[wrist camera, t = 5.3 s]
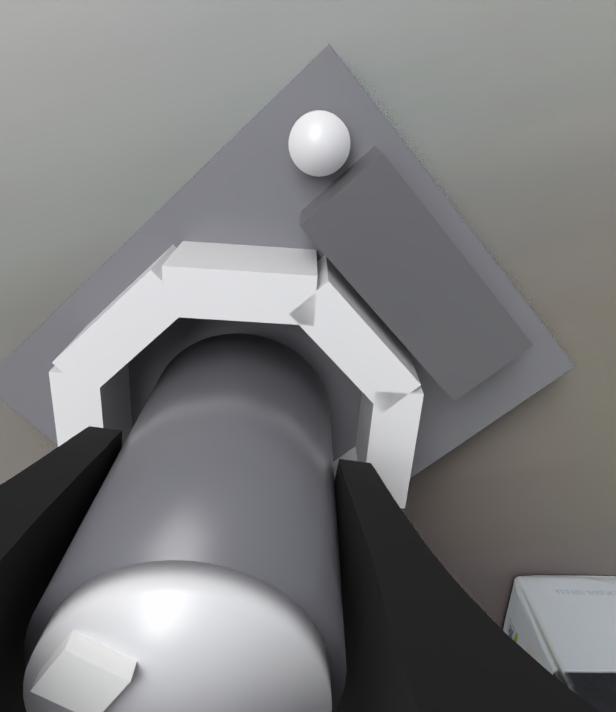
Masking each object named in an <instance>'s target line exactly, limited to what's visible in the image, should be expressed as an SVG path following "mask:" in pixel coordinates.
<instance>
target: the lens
mask: <svg viewBox="0 0 616 712" xmlns="http://www.w3.org/2000/svg"><path fill="white" fill-rule="evenodd" d="M25 662H26V670H25V675H24V680H23V699H24V704H25V709H26V712H335V710H336V708H337V706H338V704H339V702H340V700H341V697H342V694H343V690H344V687H345V681H346V673H347V669H346V653H345V637H344V622H343V606H342V591H341V575H340V559H339V544H338V528H337V513H336V497H335V482H334V466H333V450H332V435H331V419H330V405H329V400H328V396H327V393H326V390H325V387H324V385H323V383H322V381H321V379H320V377H319V376H318V374H317V373H316V371H315V370H314V369H313V367H312V366H311V365H310V364H309V363H308V362H307V361H306V360H305V359H304V358H303V357H302V356H300V355H299V354H298V353H297V352H295V351H294V350H292V349H291V348H289V347H287V346H286V345H284V344H282V343H280V342H277V341H275V340H273V339H269V338H266V337H263V336H258V335H253V334H243V333H232V334H222V335H217V336H212V337H209V338H206V339H203V340H200V341H198V342H196V343H194V344H192V345H190V346H189V347H187V348H186V349H184V350H183V351H181V352H180V353H179V354H178V355H177V356H176V357H174V358H173V359H172V361H171V362H170V363H169V364H168V365H167V366H166V368H165V369H164V371H163V373H162V374H161V376H160V378H159V380H158V381H157V383H156V385H155V387H154V389H153V391H152V393H151V395H150V396H149V398H148V400H147V402H146V404H145V406H144V408H143V409H142V411H141V413H140V415H139V417H138V419H137V421H136V423H135V424H134V426H133V428H132V430H131V432H130V434H129V436H128V437H127V439H126V441H125V443H124V445H123V447H122V449H121V450H120V452H119V454H118V456H117V458H116V460H115V462H114V464H113V465H112V467H111V469H110V471H109V473H108V475H107V477H106V478H105V480H104V482H103V484H102V486H101V488H100V490H99V492H98V493H97V495H96V497H95V499H94V501H93V503H92V505H91V506H90V508H89V510H88V512H87V514H86V516H85V518H84V519H83V521H82V523H81V525H80V527H79V529H78V531H77V533H76V534H75V536H74V538H73V540H72V542H71V544H70V546H69V547H68V549H67V551H66V553H65V555H64V557H63V559H62V561H61V562H60V564H59V566H58V568H57V570H56V572H55V574H54V575H53V577H52V579H51V581H50V583H49V585H48V587H47V588H46V590H45V592H44V594H43V596H42V598H41V600H40V602H39V603H38V605H37V607H36V609H35V611H34V613H33V615H32V618H31V620H30V623H29V625H28V628H27V633H26V638H25Z"/></svg>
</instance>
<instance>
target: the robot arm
mask: <svg viewBox="0 0 616 712" xmlns="http://www.w3.org/2000/svg"><path fill="white" fill-rule="evenodd" d="M121 449H122V430H115V429H107V428H99V427H92V426H89V427H87V428H86V429H84V430H82V431H81V432H79V433H78V434H76V435H75V436H73V437H72V438H71V439H69V440H68V441H66V442H65V443H63V444H62V445H60V446H59V447H57V448H56V449H54V450H53V451H52V452H50V453H49V454H47V455H46V456H44V457H43V458H41V459H40V460H38V461H37V462H35V463H34V464H32V465H31V466H29V467H28V468H26V469H25V470H23V471H22V472H20V473H19V474H17V475H16V476H14V477H12V478H11V479H9V480H8V481H6V482H5V483H3V484H1V485H0V712H26V709H25V704H24V699H23V680H24V675H25V670H26V662H25V638H26V633H27V628H28V625H29V623H30V620H31V618H32V615H33V613H34V611H35V609H36V607H37V605H38V603H39V602H40V600H41V598H42V596H43V594H44V592H45V590H46V588H47V587H48V585H49V583H50V581H51V579H52V577H53V575H54V574H55V572H56V570H57V568H58V566H59V564H60V562H61V561H62V559H63V557H64V555H65V553H66V551H67V549H68V547H69V546H70V544H71V542H72V540H73V538H74V536H75V534H76V533H77V531H78V529H79V527H80V525H81V523H82V521H83V519H84V518H85V516H86V514H87V512H88V510H89V508H90V506H91V505H92V503H93V501H94V499H95V497H96V495H97V493H98V492H99V490H100V488H101V486H102V484H103V482H104V480H105V478H106V477H107V475H108V473H109V471H110V469H111V467H112V465H113V464H114V462H115V460H116V458H117V456H118V454H119V452H120V450H121ZM334 482H335V497H336V513H337V528H338V544H339V559H340V575H341V591H342V606H343V622H344V637H345V653H346V669H347V673H346V681H345V687H344V690H343V694H342V697H341V700H340V702H339V704H338V706H337V708H336V710H335V712H599V711H598V710H597V709H596V708H594V707H593V706H592V705H590V704H589V703H588V702H586V701H585V700H584V699H583V698H581V697H580V696H579V695H577V694H576V693H575V692H573V691H572V690H571V689H570V688H568V687H567V686H566V685H565V684H564V683H562V682H561V681H560V680H559V679H557V678H556V677H555V676H554V675H553V674H551V673H550V672H549V671H548V670H546V669H545V668H544V667H543V666H542V665H541V664H540V663H538V662H537V661H536V660H535V659H534V658H533V657H532V656H531V655H529V654H528V653H527V652H526V651H525V650H524V649H523V648H522V647H521V646H519V645H518V644H517V643H516V642H515V641H514V640H513V639H512V638H510V637H509V636H508V635H507V634H506V633H505V632H504V631H503V630H502V629H501V628H500V627H499V626H498V625H497V624H496V623H495V622H494V621H493V620H492V619H491V618H490V617H489V616H488V615H487V614H486V613H485V612H484V611H483V610H482V609H481V608H480V607H479V606H478V605H477V604H476V603H475V602H474V601H473V599H472V598H471V597H470V596H469V595H468V594H467V593H466V592H465V591H464V590H463V589H462V588H461V587H460V586H459V584H458V583H457V582H456V581H455V580H454V579H453V578H452V576H451V575H450V574H449V573H448V572H447V570H446V569H445V568H444V567H443V565H442V564H441V563H440V562H439V561H438V559H437V558H436V557H435V556H434V554H433V553H432V552H431V550H430V549H429V548H428V547H427V545H426V544H425V542H424V541H423V540H422V538H421V537H420V536H419V534H418V533H417V531H416V530H415V529H414V527H413V526H412V524H411V523H410V522H409V520H408V519H407V517H406V516H405V514H404V513H403V511H402V510H401V508H400V507H399V505H398V504H397V502H396V501H395V499H394V498H393V496H392V495H391V493H390V492H389V490H388V488H387V487H386V485H385V484H384V482H383V481H382V479H381V477H380V476H379V474H378V473H377V471H376V470H375V468H374V467H373V465H372V464H371V463H367V462H359V461H352V460H344V459H339V462H338V467H337V471H336V476H335V481H334Z"/></svg>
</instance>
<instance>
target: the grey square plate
mask: <svg viewBox="0 0 616 712" xmlns="http://www.w3.org/2000/svg"><path fill="white" fill-rule="evenodd" d="M232 333H243V334H253V335H258V336H263V337H266V338H269V339H273V340H275V341H277V342H280V343H282V344H284V345H286V346H287V347H289V348H291V349H292V350H294V351H295V352H297V353H298V354H299V355H300V356H302V357H303V358H304V359H305V360H306V361H307V362H308V363H309V364H310V365H311V366H312V367H313V369H314V370H315V371H316V373H317V374H318V376H319V377H320V379H321V381H322V383H323V385H324V387H325V390H326V393H327V396H328V400H329V405H330V419H331V435H332V450H333V466H334V481H335V476H336V471H337V467H338V462H339V459H344V460H352V461H359V462H367V463H371V464H372V465H373V467H374V468H375V470H376V471H377V473H378V474H379V476H380V477H381V479H382V481H383V482H384V484H385V485H386V487H387V488H388V490H389V492H390V493H391V495H392V496H393V498H394V499H395V501H396V502H397V504H398V505H399V507H400V508H404V509H405V505H406V499H407V493H408V487H409V481H410V478H412V477H413V476H415V475H416V474H417V473H419V472H420V471H422V470H423V469H425V468H426V467H428V466H429V465H431V464H432V463H434V462H435V461H437V460H438V459H440V458H441V457H442V456H444V455H445V454H447V453H448V452H450V451H451V450H453V449H454V448H456V447H457V446H459V445H460V444H462V443H463V442H464V441H466V440H467V439H469V438H470V437H472V436H473V435H475V434H476V433H478V432H479V431H481V430H482V429H484V428H485V427H487V426H488V425H489V424H491V423H492V422H494V421H495V420H497V419H498V418H500V417H501V416H503V415H504V414H506V413H507V412H509V411H510V410H512V409H513V408H514V407H516V406H517V405H519V404H520V403H522V402H523V401H525V400H526V399H528V398H529V397H531V396H532V395H534V394H535V393H536V392H538V391H539V390H541V389H542V388H544V387H545V386H547V385H548V384H550V383H551V382H553V381H554V380H556V379H557V378H559V377H560V376H561V375H563V374H564V373H566V372H567V371H569V370H570V369H572V368H573V367H575V365H574V364H573V362H572V361H571V360H570V359H569V357H568V356H567V355H566V353H565V352H564V351H563V349H562V348H561V347H560V345H559V344H558V343H557V341H556V340H555V339H554V338H553V336H552V335H551V334H550V332H549V331H548V330H547V328H546V327H545V326H544V324H543V323H542V322H541V320H540V319H539V318H538V317H537V315H536V314H535V313H534V311H533V310H532V309H531V307H530V306H529V305H528V303H527V302H526V301H525V299H524V298H523V297H522V296H521V294H520V293H519V292H518V290H517V289H516V288H515V286H514V285H513V284H512V282H511V281H510V280H509V279H508V277H507V276H506V275H505V273H504V272H503V271H502V269H501V268H500V267H499V265H498V264H497V263H496V261H495V260H494V259H493V258H492V256H491V255H490V254H489V252H488V251H487V250H486V248H485V247H484V246H483V244H482V243H481V242H480V240H479V239H478V238H477V237H476V235H475V234H474V233H473V231H472V230H471V229H470V227H469V226H468V225H467V223H466V222H465V221H464V220H463V218H462V217H461V216H460V214H459V213H458V212H457V210H456V209H455V208H454V206H453V205H452V204H451V202H450V201H449V200H448V199H447V197H446V196H445V195H444V193H443V192H442V191H441V189H440V188H439V187H438V185H437V184H436V183H435V181H434V180H433V179H432V178H431V176H430V175H429V174H428V172H427V171H426V170H425V168H424V167H423V166H422V164H421V163H420V162H419V161H418V159H417V158H416V157H415V155H414V154H413V153H412V151H411V150H410V149H409V147H408V146H407V145H406V143H405V142H404V141H403V140H402V138H401V137H400V136H399V134H398V133H397V132H396V130H395V129H394V128H393V126H392V125H391V124H390V122H389V121H388V120H387V119H386V117H385V116H384V115H383V113H382V112H381V111H380V109H379V108H378V107H377V105H376V104H375V103H374V102H373V100H372V99H371V98H370V96H369V95H368V94H367V92H366V91H365V90H364V88H363V87H362V86H361V84H360V83H359V82H358V81H357V79H356V78H355V77H354V75H353V74H352V73H351V71H350V70H349V69H348V67H347V66H346V65H345V63H344V62H343V61H342V60H341V58H340V57H339V56H338V54H337V53H336V52H335V50H334V49H333V48H332V46H331V45H330V44H329V45H328V46H327V47H326V48H325V49H324V50H323V51H322V52H321V53H320V54H319V55H318V56H317V57H316V58H315V59H314V60H312V61H311V62H310V63H309V64H308V65H307V66H306V67H305V68H304V69H303V70H302V71H301V72H300V73H299V74H298V75H297V76H296V77H295V78H294V79H293V80H292V81H291V82H290V83H289V84H288V85H287V86H286V87H285V88H284V89H283V90H282V91H281V92H280V93H279V94H278V95H277V96H276V97H275V98H274V99H273V100H271V101H270V102H269V103H268V104H267V105H266V106H265V107H264V108H263V109H262V110H261V111H260V112H259V113H258V114H257V115H256V116H255V117H254V118H253V119H252V120H251V121H250V122H249V123H248V124H247V125H246V126H245V127H244V128H243V129H242V130H241V131H240V132H239V133H238V134H237V135H236V136H235V137H234V138H233V139H232V140H230V141H229V142H228V143H227V144H226V145H225V146H224V147H223V148H222V149H221V150H220V151H219V152H218V153H217V154H216V155H215V156H214V157H213V158H212V159H211V160H210V161H209V162H208V163H207V164H206V165H205V166H204V167H203V168H202V169H201V170H200V171H199V172H198V173H197V174H196V175H195V176H194V177H193V178H192V179H191V180H189V181H188V182H187V183H186V184H185V185H184V186H183V187H182V188H181V189H180V190H179V191H178V192H177V193H176V194H175V195H174V196H173V197H172V198H171V199H170V200H169V201H168V202H167V203H166V204H165V205H164V206H163V207H162V208H161V209H160V210H159V211H158V212H157V213H156V214H155V215H154V216H153V217H152V218H151V219H150V220H148V221H147V222H146V223H145V224H144V225H143V226H142V227H141V228H140V229H139V230H138V231H137V232H136V233H135V234H134V235H133V236H132V237H131V238H130V239H129V240H128V241H127V242H126V243H125V244H124V245H123V246H122V247H121V248H120V249H119V250H118V251H117V252H116V253H115V254H114V255H113V256H112V257H111V258H110V259H109V260H107V261H106V262H105V263H104V264H103V265H102V266H101V267H100V268H99V269H98V270H97V271H96V272H95V273H94V274H93V275H92V276H91V277H90V278H89V279H88V280H87V281H86V282H85V283H84V284H83V285H82V286H81V287H80V288H79V289H78V290H77V291H76V292H75V293H74V294H73V295H72V296H71V297H70V298H69V299H68V300H66V301H65V302H64V303H63V304H62V305H61V306H60V307H59V308H58V309H57V310H56V311H55V312H54V313H53V314H52V315H51V316H50V317H49V318H48V319H47V320H46V321H45V322H44V323H43V324H42V325H41V326H40V327H39V328H38V329H37V330H36V331H35V332H34V333H33V334H32V335H31V336H30V337H29V338H28V339H27V340H25V341H24V342H23V343H22V344H21V345H20V346H19V347H18V348H17V349H16V350H15V351H14V352H13V353H12V354H11V355H10V356H9V357H8V358H7V359H6V360H5V361H4V362H3V363H2V364H1V365H0V399H1V400H2V401H3V402H5V403H6V404H7V405H8V406H10V407H11V408H12V409H13V410H15V411H16V412H17V413H18V414H19V415H21V416H22V417H23V418H24V419H26V420H27V421H28V422H29V423H31V424H32V425H33V426H34V427H36V428H37V429H38V430H39V431H40V432H42V433H43V434H44V435H45V436H47V437H48V438H49V439H50V440H52V441H53V442H54V443H55V444H56V445H58V447H59V446H60V445H62V444H63V443H65V442H66V441H68V440H69V439H71V438H72V437H73V436H75V435H76V434H78V433H79V432H81V431H82V430H84V429H86V428H87V427H89V426H92V427H99V428H107V429H115V430H122V447H123V445H124V443H125V441H126V439H127V437H128V436H129V434H130V432H131V430H132V428H133V426H134V424H135V423H136V421H137V419H138V417H139V415H140V413H141V411H142V409H143V408H144V406H145V404H146V402H147V400H148V398H149V396H150V395H151V393H152V391H153V389H154V387H155V385H156V383H157V381H158V380H159V378H160V376H161V374H162V373H163V371H164V369H165V368H166V366H167V365H168V364H169V363H170V362H171V361H172V359H173V358H174V357H176V356H177V355H178V354H179V353H180V352H181V351H183V350H184V349H186V348H187V347H189V346H190V345H192V344H194V343H196V342H198V341H200V340H203V339H206V338H209V337H212V336H217V335H222V334H232Z"/></svg>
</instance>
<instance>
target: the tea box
mask: <svg viewBox="0 0 616 712" xmlns="http://www.w3.org/2000/svg"><path fill="white" fill-rule="evenodd" d="M503 631H504V632H505V633H506V634H507V635H508V636H509V637H510V638H512V639H513V640H514V641H515V642H516V643H517V644H518V645H519V646H521V647H522V648H523V649H524V650H525V651H526V652H527V653H528V654H529V655H531V656H532V657H533V658H534V659H535V660H536V661H537V662H538V663H540V664H541V665H542V666H543V667H544V668H545V669H546V670H548V671H549V672H550V673H551V674H553V675H554V676H555V677H556V678H557V679H559V680H560V681H561V682H562V683H564V684H565V685H566V686H567V687H568V688H570V689H571V690H572V691H573V692H575V693H576V694H577V695H579V696H580V697H581V698H583V699H584V700H585V701H586V702H588V703H589V704H590V705H592V706H593V707H594V708H596V709H597V710H598V711H599V712H616V576H564V575H533V576H518V577H516V578H515V579H514V584H513V588H512V593H511V597H510V601H509V605H508V610H507V614H506V618H505V623H504V628H503Z"/></svg>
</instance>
